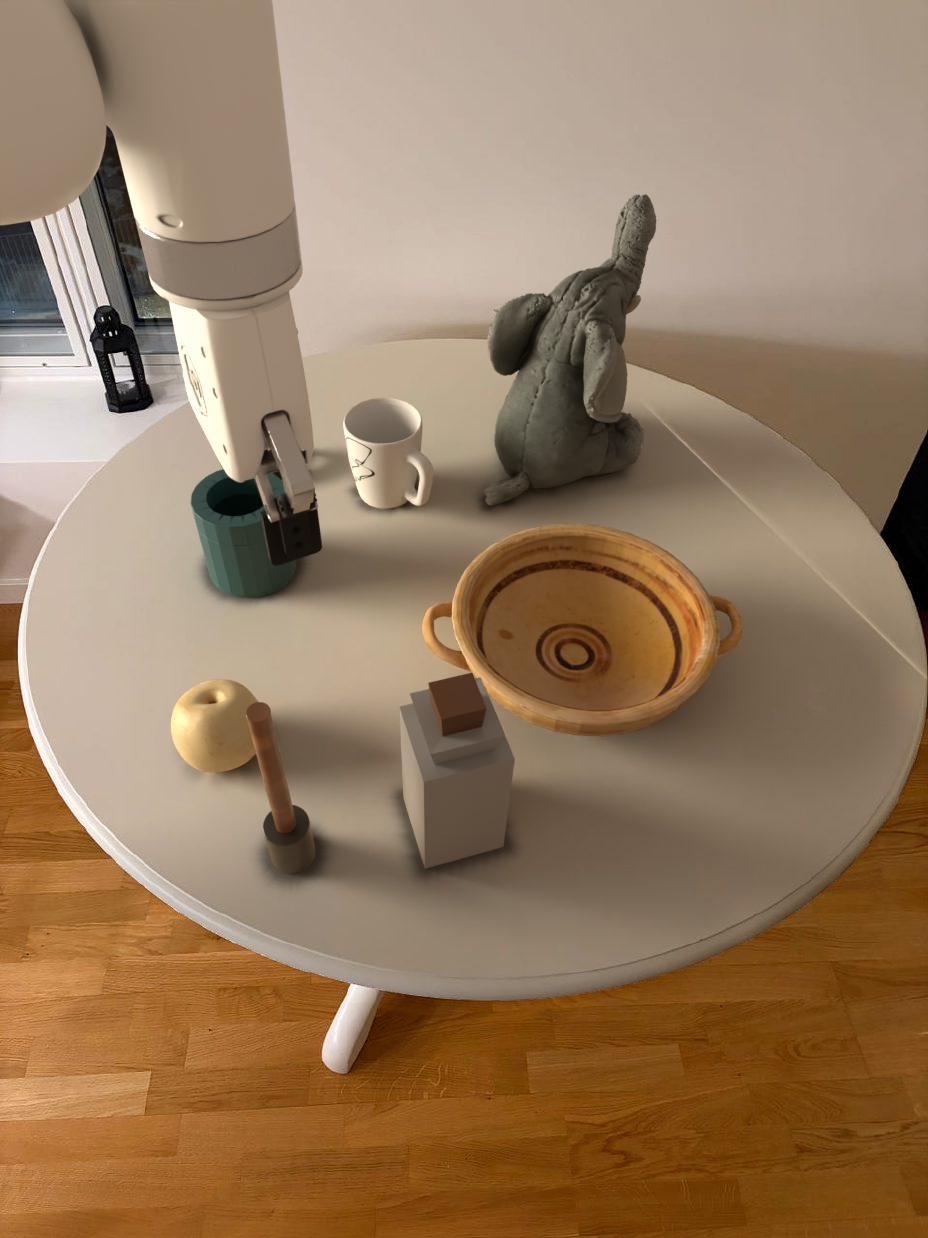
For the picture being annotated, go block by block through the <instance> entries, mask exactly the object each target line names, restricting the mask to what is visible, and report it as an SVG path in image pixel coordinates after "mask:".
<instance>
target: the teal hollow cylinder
mask: <svg viewBox="0 0 928 1238" xmlns="http://www.w3.org/2000/svg"><path fill="white" fill-rule="evenodd" d="M267 476H268V479H269V482H270V485H271V488H272V491H273V494H274V497H275V498H276V497H277V496H278V495H280V494H283V493H285V491H284V484H283V480H281V479H280V478H278V477H277V476H276V475H275V474H273V473H270V474H267ZM190 507H191V511H192V513H193V518H194V522H195V525H196V529H197V533H198V538H199V541H200V544H201V548H202V552H203V555H204V556H203V557H204V559H205V563H206V567H207V571H208V574H209V577H210V580H211V581H212V583H213V585H214V586H215V588H217V589H218V590H219V591H220V592H222V593H224V594H226V595H228V596H231V597H235V598H241V599H255V598H262V597H264V596H268V595H271V594H273V593H275V592H277V591H279V590H280V589H282V588H284V587H285V586H286V585H287V584H288V583H290V581H291V580H292V578H293V577H294V575H295V573H296V570H297V560H294V561H291V562H288V563H284V564H281V565H278V566H274V565H273V564H272V563H271V561H270V559H269V557H268V551H267V546H266V541H265V536H264V531H263V525H262V520H261V515H260V512H261V511H264V510H265V507H264V504H263V501H262V498H261V495H260V492H259V489H258V486H257V483H256V480H255V478H253V479H249V480H245V481H244V482H241V483H240V482H237V481H235V480H233V479H232V478H230V477H229V476H228V475H227V474H226V472H225V470H224V469H223V468H222V469H219V470H216V471H214V472H212V473H210V474H208V475H206V476H205V477H204V478H203V479H202V480H200V481H199V482H198V483H197V484H196V485H195V487H194V489H193V490H192V492H191V496H190Z"/></svg>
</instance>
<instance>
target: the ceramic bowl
mask: <svg viewBox="0 0 928 1238" xmlns="http://www.w3.org/2000/svg"><path fill="white" fill-rule="evenodd" d="M452 597H453V599H452V601H445V602H439V603H436V604H433V605H432V606H430V607H429V608H428V609H427V610H426V612H425V614H424V617H423V620H422V624H421V631H422V636H423V639H424V642H425V644H426V646H427V648H428V649H429V650H430V651H431V652H432V653H433V654H434V655H435V656H436V657H437V658H439V659H441V660H442V661H444V662H446V663H448V664H450V665H452V666H454V667H456V668H459V669H462V670H464V671H468V672H469V673H473V676H474V678H479V677H481V679H482V682H483V684H484V686H485V687H486V690H487V692H488V695H489V696H490V697H492V698H493V700H494V701H495V702H496V703H498V704H499V705H501V706H502V707H503V708H505V709H506V710H508V711H509V712H510V713H512V714H513V715H515V716H517V717H518V718H521V719H523V720H525V721H527V722H529V723H531V724H532V725H535V726H537V727H541V728H544V729H547V730H549V731H553V732H556V733H562V734H566V735H573V736H581V737H582V736H583V737H604V736H614V735H622V734H626V733H630V732H634V731H636V730H637V731H638V730H641V729H643V728H646V727H647V726H649V725H652V724H654V723H656V722H658V721H660V720H662V719H664V718H665V717H668V715H670V714H671V713H672V712H673V711H676V710H677V709H679V707H681V706H682V705H683V704H684V703H685V702H686V701H687V700H688V699H689V698H691V696H693V695H694V694H695V693H696V692H697V691H698V689H700V688H701V686H702V685H703V684H704V683H705V682H706V681H707V679H708V678H709V676H710V674H711V672H712V671H713V668H714V666H715V665H716V662H717V659H719V658H721V657H723V656H724V655H726V654H727V653H729V652H731V650H733V649H734V648H736V646H737V645H738V644H739V643H740V641H741V639H742V636H743V629H744V625H743V624H744V623H743V617H742V615H741V614H740V612H739V610H738V609H737V607H736V606H735V605H734V604H733V603H732V602H731V601H729V600H728V599H726V598H725V597H721V596H717V595H710V593H709V592H708V590H707V589H706V588H705V586H704V584H703V583H702V582H701V581H700V579H699V578H698V577H697V576H696V575H695V573H693V572H692V571H691V569H690V568H688V566H687V565H686V564H685V563H683V562H682V561H681V560H680V559H678V558H677V557H676V556H675V555H673V554H671V552H669V551H668V550H666V549H664V548H662V547H661V546H659V545H657V544H655V543H653V542H652V541H650V540H648V539H645V538H643V537H640V536H638V535H635V534H633V533H630V532H627V531H623V530H620V529H617V528H613V527H608V526H602V525H598V524H589V523H572V522H571V523H569V522H568V523H555V524H545V525H540V526H536V527H531V528H526V529H524V530H521V531H518V532H515V533H512V534H510V535H507V536H506V537H504V538H502V539H500V540H498V541H497V542H495V543H493V544H491V545H490V546H488V547H487V548H486V549H484V551H482V552H481V553H479V554H478V555H477V556H476V557H475V558H474V559H473V560H472V562H471V563H470V564H468V566H467V567H466V568H465V570H464V571H463V574H462V575H461V577H460V578H459V581H457V585H456V587H455V590H454V594H453V596H452ZM718 611H719V612H722V613H724V614H725V615H727V616H728V618H729V621H730V624H731V630H730V632H729V633H728V635H726V637H724V638H723V639H721V626H720V621H719V616H718ZM442 617H443V618H444V617H445V618H451V623H452V628H453V633H454V638H455V640H456V642H457V644H458V646H459V649H460V650H457V649H453V648H450V647H448V646H446V645H444V643H442V642H441V641H440V640H439V638H438V637H437V635H436V632H435V621H436V620H438V619H439V618H442Z"/></svg>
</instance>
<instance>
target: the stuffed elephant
mask: <svg viewBox="0 0 928 1238" xmlns="http://www.w3.org/2000/svg"><path fill="white" fill-rule="evenodd" d="M618 214H619V215H618V217H617V220H616V223H615V229H614V230H615V231H614V238H613V242H612V248H611V257H609V258H607V259H606V260H605V261H603V262H602V263H601V264H600V265H599V266H596V267H595V266H594V267H592V268H591V267H590V268H585V269H584V270H583V269H581V270H578V271H576V272H573V273H571V274H570V275H568V276H566V277H565V278H563V279H562V280H561V281H560V282H559V283H557V285H556V286H555V287H554V288H553V290H551V292H550V293H548V295H546V294H545V293H537V292H534V293H531V292H530V293H529V292H527V293H525V294H524V295H521V296H517V297H515V298H512V299H511V300H508V301H507V302H505V303H504V304H503V305H502V306H500V307H499V309H498V310H495V314H494V316H493V318H492V319H491V323H490V324H489V329H488V334H487V335H486V350H487V356H488V359H489V361H490V365H491V367H492V368H493V371H495V373H497V374H499V375H500V376H504V377H507V376H512V375H514V374H516V373H517V374H516V376H515V378H514V380H513V381H512V383H511V386H510V389H509V390H508V393H507V394H506V396H505V398H504V402H503V404H502V406H501V408H500V410H499V411H498V415H497V417H496V421H495V428H494V429H495V430H494V448H495V452H496V455H497V458H498V460H499V461H500V464H501V465H502V467H503V470H504V471H505V474H507V476H508V477H509V479H500V480H497V481H495V482H493V483H491V484H490V485H488V486H486V487H485V488H484V490H483V494H484V495H485V500H484V501H485V503H486V504H487V505H488V506H496V505H500V504H503V503H505V502H507V501H510V500H512V499H515V498H516V497H518V496H520V495H521V494H523V493H524V492H525V491H526V490H528V489H529V488H531V489H550V488H556V487H559V486H562V485H566V484H569V483H573V482H575V481H578V480H580V479H582V478H585V477H591V476H599V475H605V474H607V475H608V474H613V473H616V472H620V471H622V470H624V469H627V468H628V467H630V466H632V465H634V464H636V463H637V462H638V460H639V456H640V455H641V453H642V446H643V444H644V440H645V439H644V438H645V431H644V430H645V428H644V427H643V426H642V425H641V423H640V422H639V420H638V419H637V418H635V417H633V415H632V413H627V412H623V409H624V407H625V403H626V402H625V401H626V395H627V389H628V388H627V386H628V368H627V362H626V361H627V360H626V354H625V350H624V348H623V343H624V341H625V338H626V328H627V322H626V321H627V315H628V314H631V313H633V312H634V310H635V309H637V308H638V306H639V305H640V303H641V302H642V297H641V295H639V294H638V292H639V290H640V288H641V284H642V278H643V274H644V268H645V266H646V262H647V254H648V251H649V245H650V244H651V242H652V240H653V239H654V237H655V234H656V231H657V215H656V212H655V208H654V204H653V202H652V200H651V197H649V195H648V194H646V193H645V194H642V195H640V194H634V195H632V196H631V197H630V198H628V200H627V202H625V204H624V205H623V207H622V208H621V210H620V212H619V213H618Z"/></svg>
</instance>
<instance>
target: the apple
mask: <svg viewBox="0 0 928 1238" xmlns="http://www.w3.org/2000/svg"><path fill="white" fill-rule="evenodd" d="M256 702H259V700H258V699H257V697H256V696H255V695H254V693H252V692H251V691H250V689H248V687H246V686H245V685H244V684H242V683H241V682H238V681H235V680H231V679H225V678H219V679H209V680H206V681H204V682H200V683H199V684H197V685H195V686H192V688H190V689H189V690H187V691H186V692H185V693H184V694H182V695H181V697H180V698H179V699H178V700H177V702H176V703H175V705H174V707H173V709H172V714H171V719H170V734H171V738H172V742H173V744H174V747H175V749H176V750H177V752H178V754H179V755H180V756H181V758H182V760H184V761H185V762H186V763H187V764H188V765H189V766H191V767H192V768H194V769H196V770H198V771H201V772H204V773H222V772H228V771H232V770H234V769H237V768H240V767H242V766H244V765H245V764H247V763H248V762H249V761H250V760H252V759H253V758H254V756H256V751H255V748H254V744H253V740H252V736H251V733H250V729H249V725H248V722H247V718H246V710H247V708H248V707H249V706H250V705H251V704H253V703H256Z"/></svg>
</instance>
